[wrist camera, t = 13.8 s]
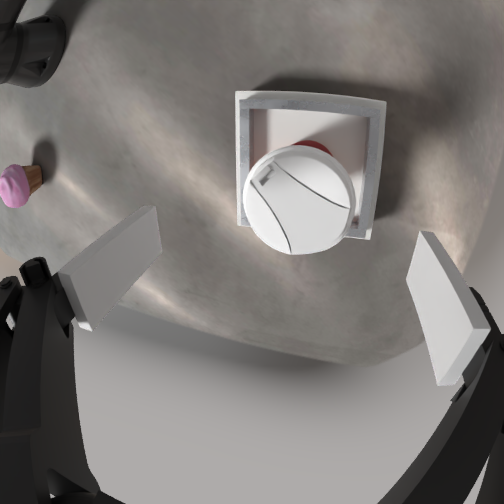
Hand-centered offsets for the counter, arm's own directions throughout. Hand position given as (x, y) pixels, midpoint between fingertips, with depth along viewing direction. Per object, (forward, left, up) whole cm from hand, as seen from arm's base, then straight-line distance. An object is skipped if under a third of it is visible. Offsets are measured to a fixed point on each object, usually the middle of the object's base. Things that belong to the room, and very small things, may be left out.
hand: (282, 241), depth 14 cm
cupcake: (-53, -2, -24) cm, 58 cm away
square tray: (0, 0, -24) cm, 24 cm away
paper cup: (0, 0, -19) cm, 19 cm away
